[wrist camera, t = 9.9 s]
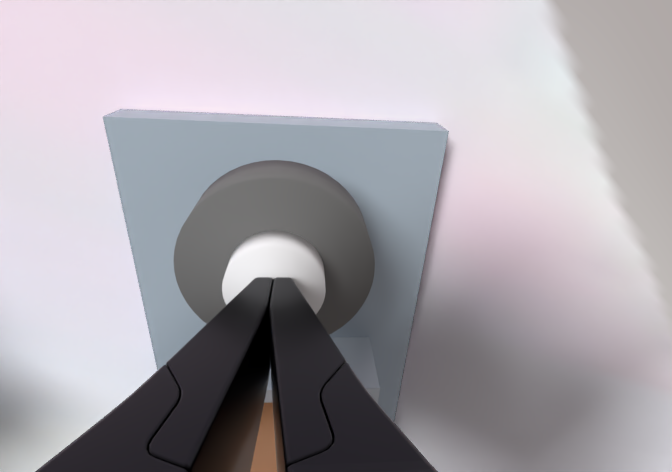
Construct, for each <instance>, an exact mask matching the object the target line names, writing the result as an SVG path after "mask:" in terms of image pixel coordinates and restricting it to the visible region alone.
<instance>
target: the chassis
mask: <svg viewBox="0 0 672 472" xmlns="http://www.w3.org/2000/svg"><path fill="white" fill-rule="evenodd" d="M103 120H104V124H105V129H106V134H107V138H108V143H109V147H110V152H111V157H112V161H113V166H114V171H115V175H116V180H117V185H118V189H119V194H120V198H121V203H122V208H123V212H124V217H125V222H126V226H127V231H128V236H129V240H130V245H131V249H132V254H133V259H134V263H135V268H136V273H137V277H138V282H139V287H140V291H141V296H142V300H143V305H144V310H145V314H146V319H147V324H148V328H149V333H150V338H151V342H152V347H153V351H154V356H155V361H156V365H157V370H159V369H160V368H161V367H162V366H163V365H166V362H167V361H168V360H169V359H170V358H171V357H173V356H174V355H175V354H176V353H177V352H178V351H179V350H180V349H181V348H182V347H183V346H184V345H185V344H186V343H187V342H188V341H189V340H190V339H191V338H192V337H194V336H195V335H196V334H197V333H198V332H199V331H200V330H201V329H202V328H203V327H204V326H205V325H206V323H205V322H204V321H202V320H201V319H200V318H199V317H198V316H197V315H196V314H195V313H194V311H193V310H192V309H191V308H190V306H189V305H188V304H187V302H186V301H185V299H184V297H183V295H182V294H181V291H180V289H179V287H178V284H177V281H176V277H175V272H174V249H175V245H176V241H177V237H178V235H179V233H180V230H181V228H182V226H183V224H184V223H185V221H186V220H187V218H188V216H189V215H190V213H191V212H192V210H193V209H194V207H195V205H196V204H197V202H198V201H199V199H200V198H201V196H202V194H203V193H204V192H205V191H206V190H207V189H208V187H209V186H210V185H211V184H212V183H214V182H215V181H216V180H217V179H218V178H220V177H221V176H223V175H224V174H226V173H228V172H229V171H231V170H233V169H236V168H238V167H240V166H243V165H246V164H250V163H253V162H259V161H265V160H283V161H293V162H297V163H301V164H305V165H308V166H311V167H313V168H316V169H318V170H320V171H322V172H324V173H326V174H328V175H329V176H331V177H332V178H333V179H335V180H336V181H338V182H339V183H340V184H341V185H342V186H343V187H344V188H345V189H346V190H347V191H348V192H349V193H350V195H351V196H352V197H353V198H354V200H355V202H356V203H357V205H358V206H359V208H360V211H361V213H362V215H363V218H364V221H365V224H366V227H367V231H368V234H369V237H370V240H371V244H372V247H373V251H374V259H375V272H374V278H373V284H372V287H371V289H370V292H369V295H368V297H367V299H366V300H365V302H364V304H363V305H362V307H361V308H360V310H359V311H358V312H357V313H356V314H355V316H354V317H353V318H352V319H351V320H350V321H349V322H347V323H346V324H345V325H344V326H343V327H341V328H340V329H338V330H337V331H335V332H334V333H332V334H330V337H331V338H332V340H333V341H334V343H335V344H336V346H337V347H338V349H339V350H340V352H341V353H342V355H343V356H344V358H345V359H346V362H347V363H348V364H349V365H350V367H351V368H352V370H353V371H354V373H355V374H356V376H357V377H358V379H359V380H360V381H361V383H362V384H363V386H364V387H365V388H366V390H367V391H368V393H369V394H370V395H371V396H372V397H373V399H374V400H375V401H376V402H377V403H378V405H379V406H380V407H381V408H382V409H383V411H384V412H385V413H386V414H387V415H388V416H389V418H390V419H391V420H392V421H393V422H394V419H395V414H396V409H397V403H398V398H399V393H400V387H401V382H402V377H403V371H404V366H405V361H406V356H407V350H408V345H409V340H410V334H411V329H412V324H413V318H414V313H415V308H416V302H417V297H418V292H419V286H420V281H421V276H422V271H423V265H424V260H425V255H426V249H427V244H428V239H429V233H430V228H431V223H432V217H433V212H434V207H435V201H436V196H437V191H438V185H439V180H440V175H441V170H442V164H443V159H444V154H445V148H446V143H447V138H448V132H449V131H448V130H446V129H445V128H443V127H442V126H441V125H439V124H438V123H426V122H403V121H381V120H358V119H335V118H312V117H289V116H266V115H243V114H221V113H198V112H175V111H152V110H129V109H120V110H118V111H115V112H113V113H110V114H108V115H106V116H103ZM264 403H272V388H271V367H270V375H269V381H268V386H267V391H266V396H265V401H264Z"/></svg>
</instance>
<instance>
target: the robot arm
mask: <svg viewBox="0 0 672 472" xmlns="http://www.w3.org/2000/svg"><path fill="white" fill-rule="evenodd" d="M270 367H271V388H272V403H273V418H274V434H275V449H276V464H277V472H438V471H437V470H436V469H435V468H434V467H433V466H432V465H431V464H430V463H429V462H428V461H427V460H426V459H425V457H424V456H423V455H422V454H421V453H420V452H419V451H418V449H417V448H416V447H415V446H414V445H413V444H412V443H411V441H410V440H409V439H408V438H407V437H406V436H405V435H404V434H403V432H402V431H401V430H400V429H399V428H398V427H397V426H396V424H395V423H394V422H393V421H392V420H391V419H390V418H389V416H388V415H387V414H386V413H385V412H384V411H383V409H382V408H381V407H380V406H379V405H378V403H377V402H376V401H375V400H374V399H373V397H372V396H371V395H370V394H369V393H368V391H367V390H366V388H365V387H364V386H363V384H362V383H361V381H360V380H359V379H358V377H357V376H356V374H355V373H354V371H353V370H352V368H351V367H350V365H349V364H348V363H347V362H346V359H345V358H344V356H343V355H342V353H341V352H340V350H339V349H338V347H337V346H336V344H335V343H334V341H333V340H332V338H331V337H330V335H329V334H328V332H327V331H326V329H325V328H324V326H323V325H322V323H321V321H320V320H319V318H318V317H317V315H316V314H315V312H314V311H313V309H312V308H311V306H310V305H309V303H308V302H307V300H306V299H305V297H304V296H303V294H302V293H301V291H300V290H299V288H298V287H297V285H296V284H295V282H294V281H293V279H292V278H290V277H277V278H275V279H274V280H273V278H271V277H256V278H254V279H253V280H252V281H251V282H250V283H249V284H248V285H247V286H246V287H245V288H244V289H243V290H242V291H241V292H240V293H239V294H238V295H237V296H235V297H234V298H233V299H232V300H231V301H230V302H229V303H228V304H227V305H226V306H225V307H224V308H223V309H222V310H221V311H220V312H219V313H218V314H217V315H216V316H214V317H213V318H212V319H211V320H210V321H209V322H208V323H207V324H206V325H205V326H204V327H203V328H202V329H201V330H200V331H199V332H198V333H197V334H196V335H195V336H194V337H192V338H191V339H190V340H189V341H188V342H187V343H186V344H185V345H184V346H183V347H182V348H181V349H180V350H179V351H178V352H177V353H176V354H175V355H174V356H173V357H171V358H170V359H169V360H168V361H167V362H166V365H163V366H162V367H161V368H160V369H159V370H158V371H157V372H156V373H154V374H153V375H152V376H151V377H150V378H149V379H148V380H147V381H146V382H145V383H144V384H143V385H141V386H140V387H139V388H138V389H137V390H136V391H135V392H134V393H133V394H131V395H130V396H129V397H128V398H127V399H126V400H124V401H123V402H122V403H121V404H120V405H118V406H117V407H116V408H115V409H113V410H112V411H111V412H110V413H109V414H107V415H106V416H105V417H104V418H103V419H101V420H100V421H99V422H97V423H96V424H95V425H94V426H92V427H91V428H90V429H89V430H87V431H86V432H85V433H84V434H82V435H81V436H80V437H79V438H77V439H76V440H75V441H73V442H72V443H71V444H70V445H68V446H67V447H66V448H65V449H63V450H62V451H61V452H60V453H58V454H57V455H56V456H54V457H53V458H52V459H51V460H49V461H48V462H47V463H46V464H44V465H43V466H42V467H41V468H39V469H38V470H37V471H36V472H250V471H251V466H252V461H253V456H254V451H255V446H256V441H257V436H258V431H259V426H260V421H261V416H262V411H263V406H264V401H265V396H266V391H267V386H268V381H269V375H270Z"/></svg>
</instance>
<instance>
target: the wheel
mask: <svg viewBox="0 0 672 472" xmlns="http://www.w3.org/2000/svg"><path fill="white" fill-rule="evenodd" d="M174 272H175V277H176V281H177V284H178V287H179V289H180V291H181V294H182V295H183V297H184V299H185V301H186V302H187V304H188V305H189V306H190V308H191V309H192V310H193V311H194V313H195V314H196V315H197V316H198V317H199V318H200V319H201V320H202V321H204V322H205V323H206V324H207V323H208V322H209V321H210V320H211V319H212V318H213V317H214V316H216V315H217V314H218V313H219V312H220V311H221V310H222V309H223V308H224V307H225V306H226V305H227V304H228V303H229V302H230V301H231V300H232V299H233V298H234V297H235V296H237V295H238V294H239V293H240V292H241V291H242V290H243V289H244V288H245V287H246V286H247V285H248V284H249V283H250V282H251V281H252V280H253V279H254V278H256V277H271V278H273V280H274V279H275V278H277V277H290V278H292V279H293V281H294V282H295V284H296V285H297V287H298V288H299V290H300V291H301V293H302V294H303V296H304V297H305V299H306V300H307V302H308V303H309V305H310V306H311V308H312V309H313V311H314V312H315V314H316V315H317V317H318V318H319V320H320V321H321V323H322V325H323V326H324V328H325V329H326V331H327V332H328V334H329V335H330V334H332V333H334V332H335V331H337V330H338V329H340V328H341V327H343V326H344V325H345V324H346V323H347V322H349V321H350V320H351V319H352V318H353V317H354V316H355V314H356V313H357V312H358V311H359V310H360V308H361V307H362V305H363V304H364V302H365V300H366V299H367V297H368V295H369V292H370V289H371V287H372V284H373V278H374V272H375V259H374V251H373V247H372V244H371V240H370V237H369V234H368V231H367V227H366V224H365V221H364V218H363V215H362V213H361V211H360V208H359V206H358V205H357V203H356V202H355V200H354V198H353V197H352V196H351V195H350V193H349V192H348V191H347V190H346V189H345V188H344V187H343V186H342V185H341V184H340V183H339V182H338V181H336V180H335V179H333V178H332V177H331V176H329V175H328V174H326V173H324V172H322V171H320V170H318V169H316V168H313V167H311V166H308V165H305V164H301V163H297V162H293V161H283V160H265V161H259V162H253V163H250V164H246V165H243V166H240V167H238V168H236V169H233V170H231V171H229V172H228V173H226V174H224V175H223V176H221V177H220V178H218V179H217V180H216V181H215V182H214V183H212V184H211V185H210V186H209V187H208V189H207V190H206V191H205V192H204V193H203V194H202V196H201V198H200V199H199V201H198V202H197V204H196V205H195V207H194V209H193V210H192V212H191V213H190V215H189V216H188V218H187V220H186V221H185V223H184V224H183V226H182V228H181V230H180V233H179V235H178V237H177V241H176V245H175V249H174Z"/></svg>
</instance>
